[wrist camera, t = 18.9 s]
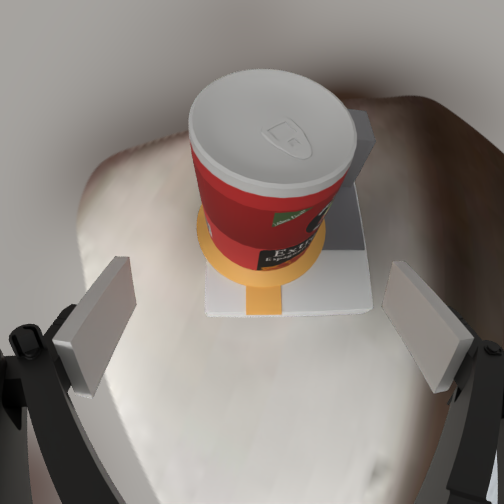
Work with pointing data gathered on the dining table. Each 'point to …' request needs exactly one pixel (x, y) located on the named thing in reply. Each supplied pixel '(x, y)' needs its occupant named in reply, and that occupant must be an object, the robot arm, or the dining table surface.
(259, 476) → the dining table surface
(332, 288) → the orange knob base plate
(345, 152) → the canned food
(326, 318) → the dining table surface
